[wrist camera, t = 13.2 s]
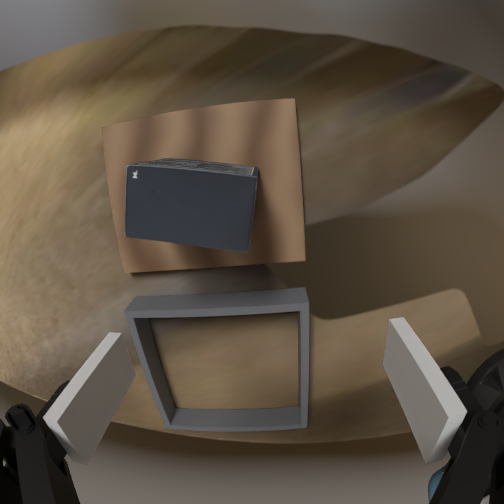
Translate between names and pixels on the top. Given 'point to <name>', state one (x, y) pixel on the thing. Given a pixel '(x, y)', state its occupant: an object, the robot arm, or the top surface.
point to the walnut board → (223, 151)
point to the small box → (191, 203)
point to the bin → (220, 306)
